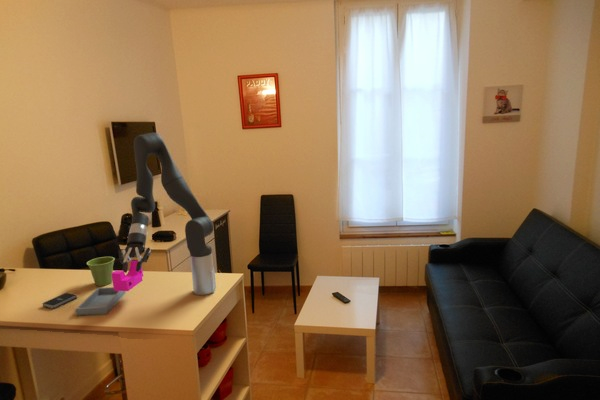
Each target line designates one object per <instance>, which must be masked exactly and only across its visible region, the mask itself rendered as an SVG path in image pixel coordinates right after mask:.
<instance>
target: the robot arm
mask: <svg viewBox="0 0 600 400" xmlns="http://www.w3.org/2000/svg"><path fill="white" fill-rule="evenodd" d="M133 140H134V141H133V151H134V159H135V160H134V161H135V168H136V185H135V186H136V187H135V192H136V194H137V195H138V196H135V197H133V198H132V199H131V202H130V207H131V212H132V216H131V217H132V218H131V224H130V229H129V232H128V237H127V240H126V247H124V249H120V248H119V249H118V251H117V252H118V261H119V263H120V264H122V270H121V271H124V273H125V274H127V273H128V268H129V263H130V261H132V260H133V258H137V259H136V260H138V262H137V266H136V271H137V272H139V271H140V270H141V266H142V267H143V263H147V262H148V260H149V258H150V255H151V254H152V249H151V248H150V247H146V242H147V237H148V228H149V220H150V219H149V216H148V215H146V214H151V213H153V212H154V211H155V208H156V202H155V198H154V193H153V190H154V176H153V173H152V172H151V170H150V169H149V167H148V165H147V164H148V163H147V162H148V161H147V160H148V156H152V155H155V156H156V157H157V159H158V161H159V163H160V168H161V171H160V172H161V173H160V180H161V181H160V182H161V186H162V187H163V189H164V190H165V192H166V194H167V196H168V197H169V198H170V200H172V201H173V202H174V203H176V204H177V205H178V206H180V207H181V208H182V209H183V210H184V211H186V213H187V214H188V216H189V217H190V220H188V221H187V222H186V224H185V228H184V232H185V233H184V234H185V240H186V246H187V247H186V248H187V249H188V251H189V254H190V256H189V257H190V267H191V276H192V277H191V278H192V287H193V288H192V289H193V293H194V295H197V296H203V295H204V296H205V295H210V294H214V293H215V291H216V288H217V285H216V284H217V283H216V272H215V270H216V269H215V267H214V261H213V250H212V249H213V248H212V246H211V245H210V244H207V243H206V240H205V239H206V237H208V236H210V235H212V234H213V231H214V224H213V221H212V219H211V218H210V217H209V215H208V214H207V212H206V211H205V210H204V209H203V207H202V206H201V204H200V203H199V201H198V200H197V198H196V197H195V195H194V192H192V191H191V189H190V186H189V185H188V183H187V182H186V179H185V178H184V177H183V175H182V173H181V172H180V170H179V168H178V167H177V165H176V163H175V162H174V160H173V158H172V156H171V153H170V152H169V149H168V148H167V145H166V143H165V141H164V139H163V138H162V136H161V135H160V134H159V133H157V132H149V133H144V134H139V135H137V136H135V138H134V139H133ZM144 213H145V214H144ZM125 253H126V254H125ZM143 253H144V254H143ZM124 255H125V257H124ZM142 255H143V256H142Z"/></svg>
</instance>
